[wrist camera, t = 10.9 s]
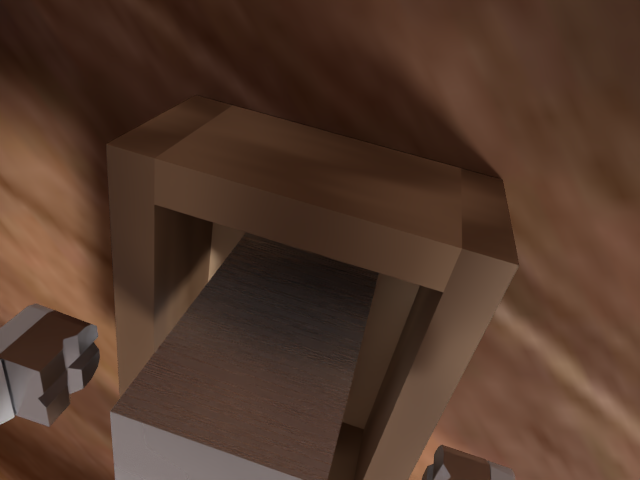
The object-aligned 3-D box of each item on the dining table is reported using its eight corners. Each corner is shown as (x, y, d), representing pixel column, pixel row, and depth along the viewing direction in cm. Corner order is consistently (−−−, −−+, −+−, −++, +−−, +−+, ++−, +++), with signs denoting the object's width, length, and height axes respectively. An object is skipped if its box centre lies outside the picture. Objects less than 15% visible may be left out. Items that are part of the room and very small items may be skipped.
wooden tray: (502, 180, 14) (519, 265, 10) (387, 440, 20) (371, 550, 17) (195, 95, 15) (105, 143, 11) (182, 370, 21) (123, 459, 18)
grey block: (385, 246, 15) (325, 487, 8) (338, 394, 19) (270, 641, 12) (262, 210, 15) (109, 411, 9) (240, 362, 19) (122, 583, 12)
